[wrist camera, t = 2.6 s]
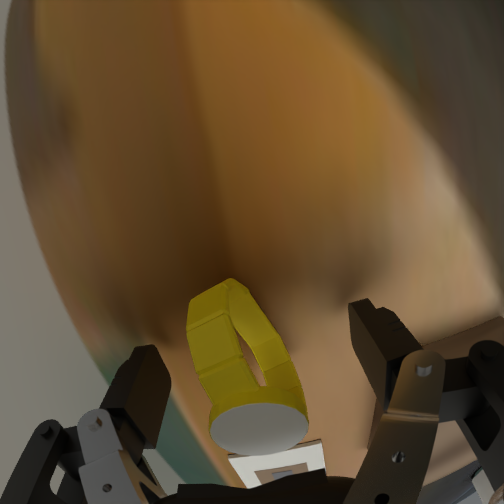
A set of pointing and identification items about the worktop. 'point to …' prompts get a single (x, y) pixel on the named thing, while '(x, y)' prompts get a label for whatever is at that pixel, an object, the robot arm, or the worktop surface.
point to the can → (482, 486)
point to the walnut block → (448, 433)
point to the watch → (244, 373)
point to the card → (278, 463)
